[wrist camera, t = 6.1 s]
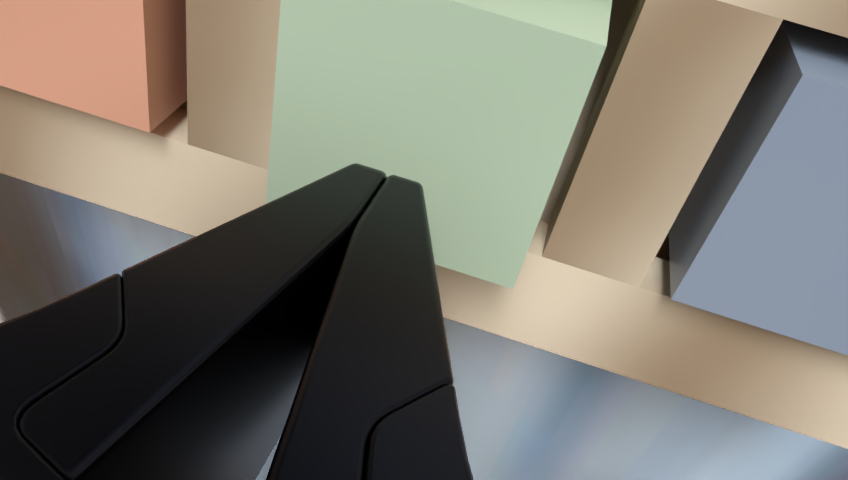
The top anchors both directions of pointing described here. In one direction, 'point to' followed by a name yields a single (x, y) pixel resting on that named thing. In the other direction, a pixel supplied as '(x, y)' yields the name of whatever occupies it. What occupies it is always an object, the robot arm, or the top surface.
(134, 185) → the wooden slotted block
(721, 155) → the key slate
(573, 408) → the top surface
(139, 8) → the key terracotta
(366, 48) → the key sage
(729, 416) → the top surface
